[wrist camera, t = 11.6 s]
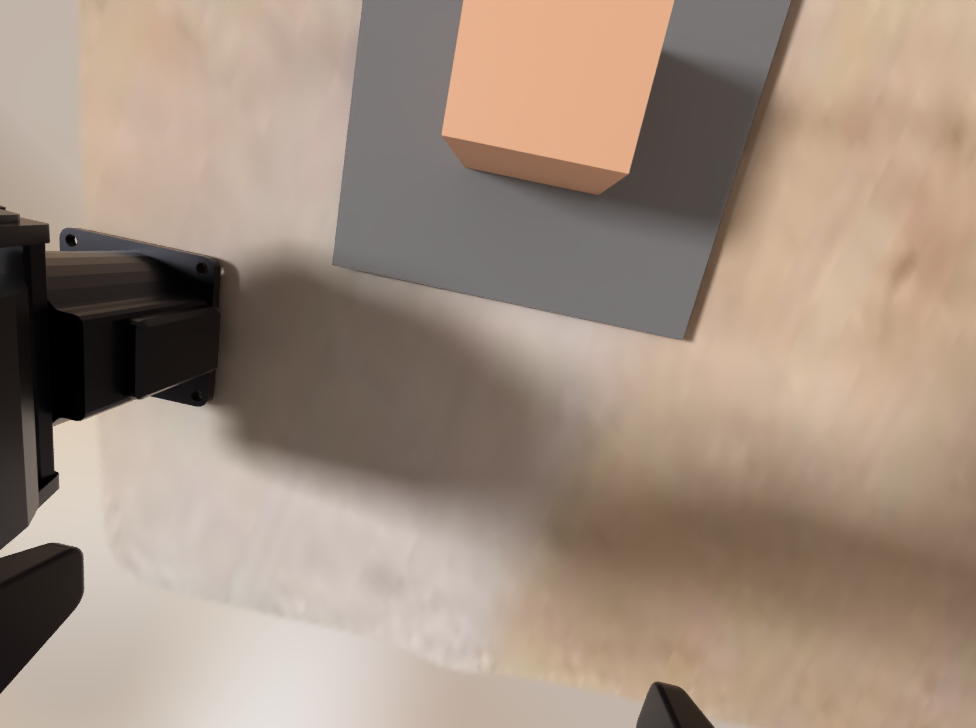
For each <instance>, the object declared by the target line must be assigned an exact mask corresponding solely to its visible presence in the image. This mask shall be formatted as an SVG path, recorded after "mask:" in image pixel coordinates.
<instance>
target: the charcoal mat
mask: <svg viewBox="0 0 976 728" xmlns="http://www.w3.org/2000/svg"><path fill="white" fill-rule="evenodd" d="M790 3H791V0H674V4H673V8H672V12H671V15H670V19H669V23H668V27H667V31H666V34H665V38H664V42H663V46H662V49H661V53H660V57H659V61H658V65H657V68H656V72H655V76H654V80H653V84H652V87H651V91H650V95H649V99H648V103H647V106H646V110H645V114H644V118H643V122H642V125H641V129H640V133H639V137H638V141H637V144H636V148H635V152H634V156H633V159H632V163H631V167H630V171H629V174H628V175H626V176H625V177H624V178H622V179H621V180H619V181H618V182H616V183H615V184H614V185H612V186H611V187H609V188H608V189H606V190H605V191H604V192H602V193H601V194H599V195H595V194H590V193H585V192H581V191H576V190H571V189H566V188H561V187H557V186H552V185H547V184H542V183H537V182H533V181H528V180H523V179H518V178H513V177H509V176H504V175H499V174H494V173H489V172H485V171H480V170H475V169H470V168H465V167H464V166H463V164H462V163H461V162H460V160H459V159H458V157H457V156H456V155H455V153H454V152H453V151H452V149H451V148H450V146H449V145H448V144H447V142H446V141H445V139H444V138H443V137H442V129H443V122H444V116H445V110H446V104H447V98H448V92H449V86H450V80H451V73H452V67H453V61H454V55H455V49H456V43H457V37H458V30H459V24H460V18H461V12H462V6H463V0H363V4H362V12H361V21H360V29H359V38H358V47H357V55H356V64H355V73H354V81H353V90H352V99H351V107H350V116H349V125H348V133H347V142H346V151H345V159H344V168H343V177H342V185H341V194H340V203H339V211H338V220H337V228H336V237H335V246H334V254H333V263H332V265H335V266H339V267H344V268H349V269H353V270H358V271H363V272H367V273H372V274H377V275H381V276H386V277H391V278H395V279H400V280H405V281H409V282H414V283H419V284H423V285H428V286H433V287H437V288H442V289H447V290H451V291H456V292H461V293H465V294H470V295H475V296H479V297H484V298H489V299H493V300H498V301H502V302H507V303H512V304H516V305H521V306H526V307H530V308H535V309H540V310H544V311H549V312H554V313H558V314H563V315H568V316H572V317H577V318H582V319H586V320H591V321H596V322H600V323H605V324H610V325H614V326H619V327H624V328H628V329H633V330H638V331H642V332H647V333H652V334H656V335H661V336H666V337H670V338H675V339H680V340H683V337H684V334H685V331H686V328H687V325H688V322H689V318H690V315H691V312H692V309H693V306H694V303H695V300H696V297H697V293H698V290H699V287H700V284H701V281H702V278H703V275H704V272H705V268H706V265H707V262H708V259H709V256H710V253H711V250H712V247H713V243H714V240H715V237H716V234H717V231H718V228H719V225H720V222H721V218H722V215H723V212H724V209H725V206H726V203H727V200H728V197H729V193H730V190H731V187H732V184H733V181H734V178H735V175H736V172H737V169H738V165H739V162H740V159H741V156H742V153H743V150H744V147H745V144H746V140H747V137H748V134H749V131H750V128H751V125H752V122H753V119H754V115H755V112H756V109H757V106H758V103H759V100H760V97H761V94H762V90H763V87H764V84H765V81H766V78H767V75H768V72H769V69H770V65H771V62H772V59H773V56H774V53H775V50H776V47H777V44H778V40H779V37H780V34H781V31H782V28H783V25H784V22H785V19H786V15H787V12H788V9H789V6H790Z"/></svg>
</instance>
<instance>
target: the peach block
mask: <svg viewBox="0 0 976 728" xmlns="http://www.w3.org/2000/svg"><path fill="white" fill-rule="evenodd" d="M673 4H674V0H463V6H462V12H461V18H460V24H459V30H458V37H457V43H456V49H455V55H454V61H453V67H452V73H451V80H450V86H449V92H448V98H447V104H446V110H445V116H444V122H443V129H442V137H443V138H444V139H445V141H446V142H447V144H448V145H449V146H450V148H451V149H452V151H453V152H454V153H455V155H456V156H457V157H458V159H459V160H460V162H461V163H462V164H463V166H464V167H465V168H470V169H475V170H480V171H485V172H489V173H494V174H499V175H504V176H509V177H513V178H518V179H523V180H528V181H533V182H537V183H542V184H547V185H552V186H557V187H561V188H566V189H571V190H576V191H581V192H585V193H590V194H595V195H599V194H601V193H602V192H604V191H605V190H606V189H608V188H609V187H611V186H612V185H614V184H615V183H616V182H618V181H619V180H621V179H622V178H624V177H625V176H626V175H628V174H629V171H630V167H631V163H632V159H633V156H634V152H635V148H636V144H637V141H638V137H639V133H640V129H641V125H642V122H643V118H644V114H645V110H646V106H647V103H648V99H649V95H650V91H651V87H652V84H653V80H654V76H655V72H656V68H657V65H658V61H659V57H660V53H661V49H662V46H663V42H664V38H665V34H666V31H667V27H668V23H669V19H670V15H671V12H672V8H673Z"/></svg>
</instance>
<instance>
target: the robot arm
mask: <svg viewBox="0 0 976 728" xmlns="http://www.w3.org/2000/svg"><path fill="white" fill-rule="evenodd" d="M49 237H50V236H49V224H48V223H43V222H38V221H34V220H29V219H25V218H20V215H19V214H17V213H13V212H10V211H6V208H5V207H3V206H0V550H1V549H2V548H3V547H4V546H5V545H6V544H8V543H9V542H10V541H11V540H12V539H14V538H15V537H16V536H17V535H18V534H20V533H21V532H22V531H23V530H24V529H26V528H27V527H28V526H29V524H30V522H31V520H32V518H33V516H34V515H35V512H36V511H37V509H38V508H39V507H40V506H41V505H42V504H43V503H44V502H45V501H46V500H47V499H48V498H49V497H50V496H51V495H53V494H54V493H55V492H56V491H57V490H58V489H59V473H58V472H56V471H54V450H53V426H56V425H58V424H61V423H64V422H66V421H69V420H75V421H81V420H84V419H86V418H89V417H92V416H94V415H97V414H99V413H102V412H104V411H107V410H109V409H112V408H115V407H117V406H120V405H122V404H125V403H127V402H130V401H133V400H135V399H144V398H146V397H149V396H152V397H156V398H161V399H165V400H170V401H174V402H179V403H183V404H188V405H192V406H203V405H205V404H207V403H209V402H211V400H212V399H213V396H214V381H215V369H216V368H217V363H218V345H219V327H220V312H219V310H218V308H219V290H220V272H221V271H220V265H219V263H218V262H217V261H216V260H215V259H214V258H212V257H210V256H206V255H201V254H197V253H192V252H187V251H183V250H178V249H174V248H169V247H164V246H160V245H155V244H150V243H146V242H141V241H136V240H132V239H127V238H122V237H118V236H113V235H109V234H104V233H99V232H95V231H90V230H85V229H81V228H65V229H64V230H62V232H61V233H60V251H45V243H49V242H50V238H49ZM75 237H76V238H77V244H76V243H75V240H74V239H75ZM204 263H205V264H206V265H207V266H208V273H207V274H206V273H205V272H204V271H203V265H204ZM197 391H200V392H201V394H202V398H201V397H199V395H198V393H197ZM83 593H84V563H83V553H82V551H81V550H80V549H79V548H77V547H73V546H69V545H64V544H60V543H48V544H45V545H41V546H38V547H35V548H31V549H28V550H25V551H22V552H18V553H15V554H12V555H8V556H5V557H2V558H0V694H1V692H2V691H3V690H4V689H5V688H6V687H7V686H8V685H9V683H10V682H11V681H12V680H13V679H14V678H15V677H16V676H17V674H18V673H19V672H20V671H21V670H22V669H23V667H24V666H25V665H26V664H27V663H28V662H29V661H30V660H31V658H32V657H33V656H34V655H35V654H36V653H37V652H38V651H39V649H40V648H41V647H42V646H43V645H44V644H45V643H46V641H47V640H48V639H49V638H50V637H51V636H52V635H53V634H54V633H55V631H56V630H57V629H58V628H59V627H60V626H61V624H62V623H63V622H64V621H65V620H66V619H67V618H68V617H69V616H70V614H71V613H72V612H73V611H74V610H75V608H76V607H77V606H78V604H79V603H80V601H81V599H82V596H83ZM636 728H714V726H713V725H712V724H711V723H710V721H709V720H708V719H707V718H706V716H705V715H704V714H703V713H702V711H701V710H700V709H699V708H698V707H697V705H696V704H695V703H694V702H693V700H692V699H691V698H690V697H689V695H688V694H687V693H686V692H685V691H684V690H683V689H682V688H680V687H678V686H675V685H671V684H666V683H662V682H654V683H653V684H652V685H651V687H650V688H649V691H648V694H647V696H646V699H645V702H644V704H643V707H642V710H641V713H640V715H639V718H638V721H637V726H636Z"/></svg>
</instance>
